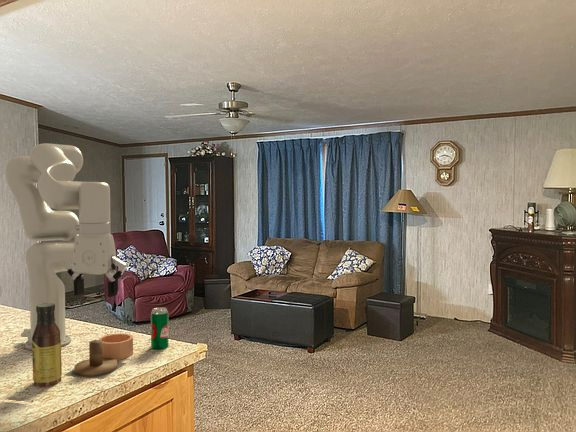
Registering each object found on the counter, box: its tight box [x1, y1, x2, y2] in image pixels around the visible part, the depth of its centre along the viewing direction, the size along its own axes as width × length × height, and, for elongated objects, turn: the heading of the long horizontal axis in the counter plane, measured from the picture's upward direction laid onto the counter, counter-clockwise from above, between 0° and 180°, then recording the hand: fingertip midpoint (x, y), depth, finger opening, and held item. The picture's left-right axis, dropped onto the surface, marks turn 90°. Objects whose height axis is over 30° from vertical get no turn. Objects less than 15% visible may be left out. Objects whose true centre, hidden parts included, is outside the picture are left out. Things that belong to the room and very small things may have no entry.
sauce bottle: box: [31, 303, 63, 388], centre depth 113 cm, size 6×6×20 cm
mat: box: [63, 361, 127, 380], centre depth 122 cm, size 11×11×1 cm
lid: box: [73, 339, 118, 378], centre depth 122 cm, size 10×10×7 cm
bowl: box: [98, 333, 134, 361], centre depth 133 cm, size 9×9×5 cm
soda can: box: [150, 307, 169, 351], centre depth 140 cm, size 5×5×12 cm
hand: (95, 295), depth 121 cm, fingers open, 9 cm apart
